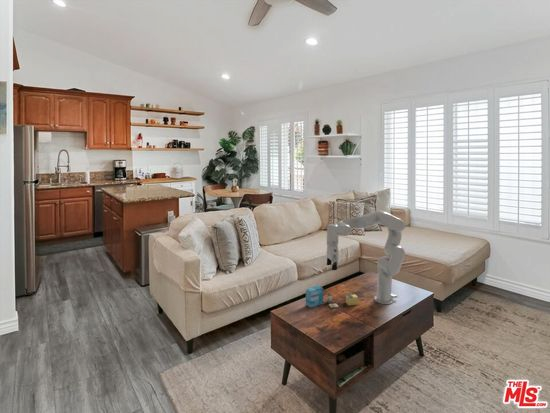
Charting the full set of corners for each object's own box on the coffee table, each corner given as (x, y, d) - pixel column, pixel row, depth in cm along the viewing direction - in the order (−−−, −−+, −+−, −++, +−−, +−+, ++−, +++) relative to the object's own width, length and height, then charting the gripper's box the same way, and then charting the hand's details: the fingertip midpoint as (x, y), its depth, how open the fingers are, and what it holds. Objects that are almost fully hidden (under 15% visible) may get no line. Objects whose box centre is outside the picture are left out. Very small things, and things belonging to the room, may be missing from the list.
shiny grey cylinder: (330, 301, 236) (330, 293, 235) (331, 303, 234) (332, 294, 233) (327, 301, 236) (327, 293, 235) (328, 303, 233) (328, 295, 232)
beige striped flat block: (336, 304, 231) (336, 303, 231) (338, 307, 227) (338, 306, 227) (329, 305, 230) (329, 304, 230) (331, 308, 226) (331, 306, 226)
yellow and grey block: (354, 301, 236) (355, 293, 235) (357, 304, 232) (358, 296, 231) (345, 302, 235) (345, 294, 234) (348, 305, 230) (348, 297, 229)
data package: (309, 308, 226) (310, 291, 224) (305, 305, 230) (305, 289, 227) (323, 303, 232) (323, 287, 230) (318, 301, 236) (319, 285, 234)
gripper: (342, 246, 215) (342, 271, 218) (333, 239, 232) (332, 262, 235) (331, 246, 214) (331, 272, 216) (322, 239, 230) (322, 263, 233)
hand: (331, 267), depth 226 cm, fingers open, 9 cm apart
